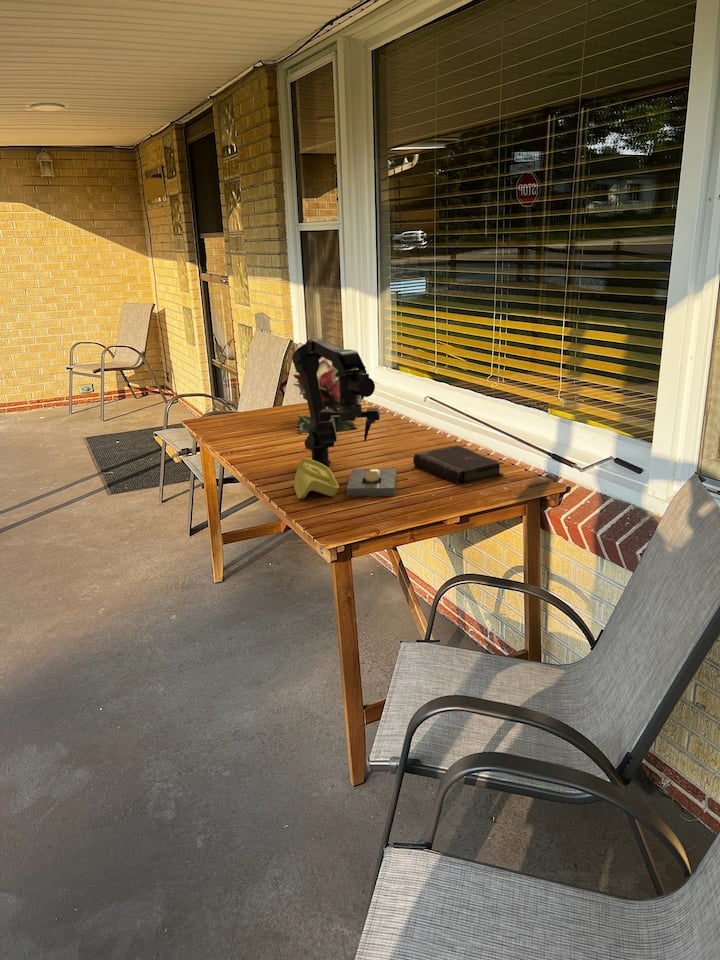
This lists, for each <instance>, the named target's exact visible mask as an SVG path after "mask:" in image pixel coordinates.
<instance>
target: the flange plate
mask: <svg viewBox="0 0 720 960" xmlns="http://www.w3.org/2000/svg"><path fill="white" fill-rule="evenodd" d="M365 469H366V468H352V469H351V472H350V475H349V479H348V482H347V485H346V497H394V496H395V495H394V494H396V485H397V483H396V482H397V468H396V467H393V468H392V467H388V468H381V467H380V468H377V469H378V482H379V484H365Z"/></svg>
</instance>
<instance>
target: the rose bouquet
mask: <svg viewBox="0 0 720 960" xmlns="http://www.w3.org/2000/svg"><path fill="white" fill-rule="evenodd" d="M319 364H320V366H319V369H318V372H317V378H318V383H319V388H320V392H321V397H322V402H323V407H324V409H333V412H339V404H340V397H339V377H336V378H334V377H333V376H332V375H333V373H334V372H335V371H334V370H335V368H333V365H332V362H331V363H330V362H329V360H328V359H326V358H324V357H321V358H320V359H319ZM295 373H298V372H297V371H296V370H295ZM293 378H295V379H296V383H293V386H295V387H297V388H298V389H299V391H300V392H299V393H298V394H299V396H303V397H302V399H304V400H305V401H307V398H306V393H305V388H304V383H303V379H302V377H301V375H300V374H299V373H298V374H293ZM358 398H359V399H362V398H361V396H359V395H358ZM358 404H362V401H358ZM298 419H299V421H298V422H297V423H296V426H297V425H300V426H299V428H298V429H297V428H296V429H295V430H296V431H297V432H298V433H299V434H300V433H309V431H308V428H309V425H310V422H311V416H307V415H303V414H300V415H298ZM334 420H335V427H336V432H338V431H339V432H343V431H350V430H352V429H357V428H358V427H359V425H358V426H357V425H356V424H355V423H354V421H340V418H334ZM355 426H357V427H355Z"/></svg>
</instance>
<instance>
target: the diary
mask: <svg viewBox="0 0 720 960" xmlns="http://www.w3.org/2000/svg"><path fill="white" fill-rule="evenodd" d="M412 460H413V465H414V467H415V468H419V469H421V470H422V471H426V472H428V473H430V474H432V475H435V476H436V477H438V478H441V479H444V480H445V481H449V482H451V483H453V484H455V485H456V486H463V485H468V484H472V483H478V482H482V481H487V480H492V479H495V478H498V477H502V476H503V475H504V474H505V473H503V472H502V473H501V472H500V471H501V470H500V466H501V465H505V463H503V462H501V461H499V460H495V459H492V458H490V457H487V456H485V455H481V454H479V453H478V452H475V451H473V450H471V449H469V448H466V447H463V446H461V445H450V446H445V447H438V448H434V449H430V450H426V451H423V452H418V453H414V456H413V458H412Z"/></svg>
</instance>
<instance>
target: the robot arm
mask: <svg viewBox="0 0 720 960" xmlns="http://www.w3.org/2000/svg"><path fill="white" fill-rule="evenodd" d="M321 357H324V358H326V359H327V360H328V362H329V361H330V362H331V363H332V368H333V369H336V370H337V371H336V373H335V375H334V376H335V377H336V378H337V377H339V397H340V404H339V408H338V411H339V412H333V409H328V408H326V409H324V407H323V402H322V397H321V392H320V388H319V383H318V378H317V372H318V369H319V366H320V364H319V359H320V358H321ZM291 360H292V363H293V365H294V369H295V372H296V371H297V372H296V373H298V375H299V374H300V375H301V377H302V379H303V383H304V388H305V393H306V398H307V400H306V401H307V405H308V406H307V407H308V412H309V417H311V422H310V425H309V428H308V431H309V435H307V437H306V438H305V440H304V446H305V449H307V450H310V451H311V460H314V461H317V462H319V463H321V464H323V465H325V466H326V467H328V468H330V467H331V466H330V465H331V464H332V461H331V460H330V457H329V456H330V455H329V454H330V453H329V448H333V447H334V446H335V443H337V441H338V436H337V435H338V434H337V431H336V427H335V420H334V418H340V421H351V422H354V421H355V420H357V418H366V420H365V426H364V427H365V428H364V437H363V438H364V439H363V440H364V442H366V441H367V439H368V434H369V431H370V428H371V425H372V424H374V423H376V421H380V418H381V409H380V408H379V407H367V408H366V410H363V408H362V407H363V406H362V403H360V404H358V395H359V396H364V398H369V397H371V396H372V395H373V394H374V392H375V389H376V383H375V381H374V380H373V379H372V378H371V377H370V374H369V373H368V371H367V369H366V366H365V364H364V363H363V361H362V358H361V356H360V354H359V352H358V351H357V350H355V349H354V350H353V349H344V348H340V347H338V346H335V345H333V344H331V343H329V342H327V341H325V340H324V339H323V338H321V337H318V338H309V339H308V340H307V341H306V342H305V343H304V344H302V345H301V346H300V347H298V348H296V350H294V353H293V354H292V357H291Z"/></svg>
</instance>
